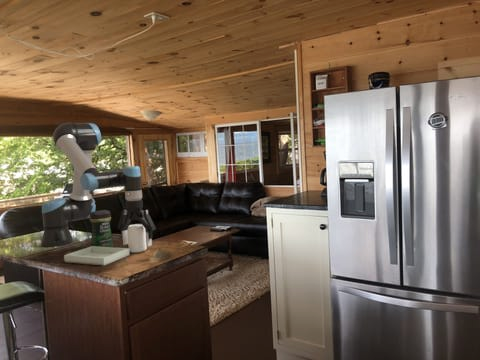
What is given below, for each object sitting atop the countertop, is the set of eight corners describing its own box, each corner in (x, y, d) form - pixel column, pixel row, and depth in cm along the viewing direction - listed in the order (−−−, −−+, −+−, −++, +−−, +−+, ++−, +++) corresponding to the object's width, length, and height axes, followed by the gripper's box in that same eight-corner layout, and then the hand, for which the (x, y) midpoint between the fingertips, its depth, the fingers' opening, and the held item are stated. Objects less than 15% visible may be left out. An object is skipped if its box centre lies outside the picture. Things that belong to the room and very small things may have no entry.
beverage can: (140, 253, 176) (138, 227, 175) (125, 252, 178) (123, 227, 177) (150, 249, 183) (148, 223, 182) (135, 248, 186) (133, 223, 185)
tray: (64, 262, 168) (64, 255, 168) (92, 252, 183) (91, 246, 183) (104, 265, 159) (103, 258, 159) (129, 255, 174) (129, 248, 174)
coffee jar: (96, 251, 184) (93, 212, 183) (89, 249, 190) (86, 211, 189) (115, 247, 191) (112, 209, 190) (108, 244, 197) (105, 208, 195)
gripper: (107, 200, 180) (110, 245, 182) (151, 200, 170) (154, 248, 172) (118, 198, 187) (121, 241, 189) (161, 198, 177) (164, 244, 179)
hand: (137, 245), depth 180 cm, fingers open, 13 cm apart
